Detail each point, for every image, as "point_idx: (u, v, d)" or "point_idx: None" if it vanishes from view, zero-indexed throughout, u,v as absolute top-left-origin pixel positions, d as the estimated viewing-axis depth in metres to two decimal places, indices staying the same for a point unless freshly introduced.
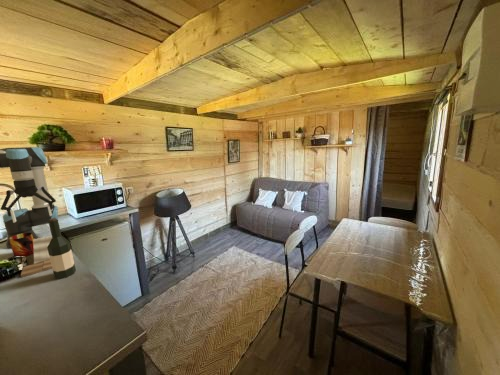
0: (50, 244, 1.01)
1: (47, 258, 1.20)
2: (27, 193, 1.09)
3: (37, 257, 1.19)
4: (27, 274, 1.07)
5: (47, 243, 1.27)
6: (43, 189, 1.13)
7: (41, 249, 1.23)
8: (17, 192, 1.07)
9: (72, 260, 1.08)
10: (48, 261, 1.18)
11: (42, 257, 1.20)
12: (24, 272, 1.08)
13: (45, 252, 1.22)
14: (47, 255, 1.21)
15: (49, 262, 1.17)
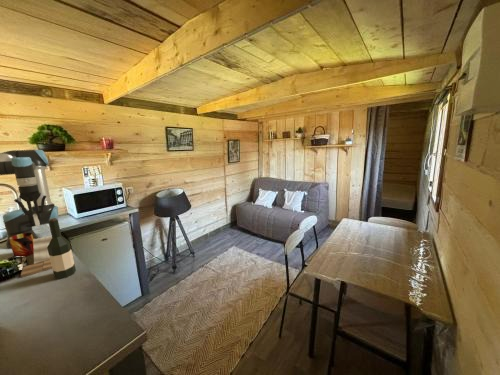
0: (50, 244, 1.01)
1: (47, 258, 1.20)
2: (31, 198, 1.18)
3: (37, 257, 1.19)
4: (27, 274, 1.07)
5: (47, 243, 1.27)
6: (44, 198, 1.21)
7: (41, 249, 1.23)
8: (22, 197, 1.16)
9: (72, 260, 1.08)
10: (48, 261, 1.18)
11: (42, 257, 1.20)
12: (24, 272, 1.08)
13: (45, 252, 1.22)
14: (47, 255, 1.21)
15: (49, 262, 1.17)
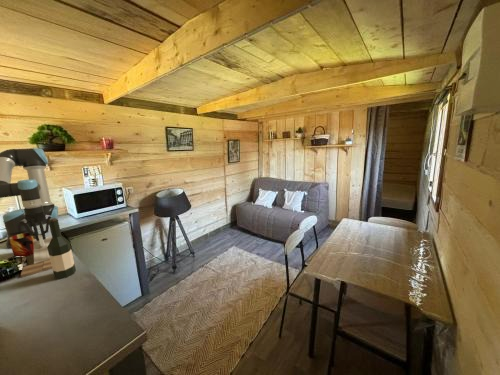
0: (50, 244, 1.01)
1: (47, 258, 1.20)
2: (36, 219, 1.20)
3: (37, 257, 1.19)
4: (27, 274, 1.07)
5: (47, 243, 1.27)
6: (49, 218, 1.24)
7: (41, 249, 1.23)
8: (28, 218, 1.18)
9: (72, 260, 1.08)
10: (48, 261, 1.18)
11: (42, 257, 1.20)
12: (24, 272, 1.08)
13: (45, 252, 1.23)
14: (47, 255, 1.21)
15: (49, 262, 1.17)
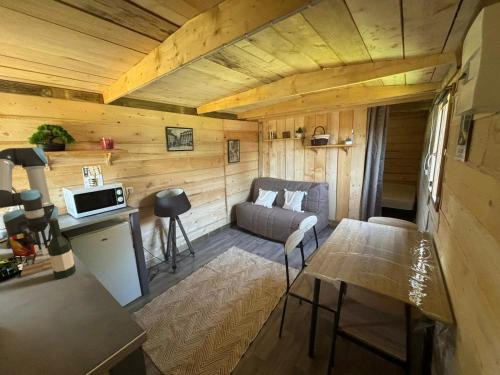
0: (50, 244, 1.01)
1: (47, 258, 1.21)
2: (39, 228, 1.22)
3: (38, 259, 1.20)
4: (27, 274, 1.07)
5: None
6: None
7: None
8: (31, 228, 1.20)
9: (72, 260, 1.08)
10: (48, 261, 1.18)
11: (43, 258, 1.21)
12: (24, 272, 1.08)
13: (47, 255, 1.24)
14: (48, 257, 1.23)
15: (49, 262, 1.17)
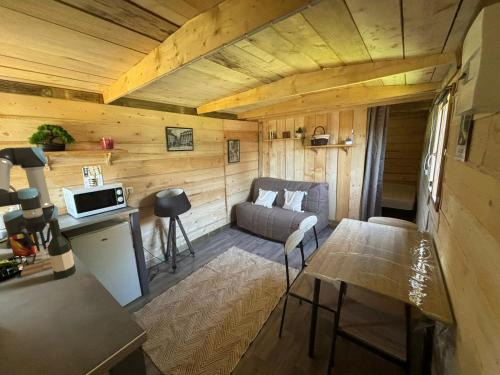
0: (50, 244, 1.01)
1: (47, 258, 1.21)
2: (37, 229, 1.17)
3: (38, 259, 1.20)
4: (27, 274, 1.07)
5: None
6: None
7: None
8: (28, 228, 1.15)
9: (72, 260, 1.08)
10: (48, 261, 1.18)
11: (43, 258, 1.21)
12: (24, 272, 1.08)
13: (47, 255, 1.24)
14: (48, 257, 1.23)
15: (49, 262, 1.17)
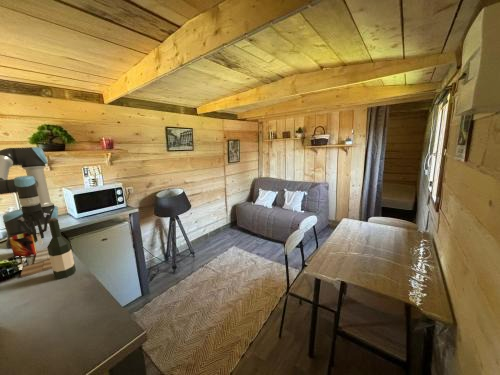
0: (50, 244, 1.01)
1: (47, 258, 1.21)
2: (34, 217, 1.15)
3: (38, 259, 1.20)
4: (27, 274, 1.07)
5: None
6: (47, 217, 1.19)
7: (43, 254, 1.25)
8: (25, 216, 1.13)
9: (72, 260, 1.08)
10: (48, 261, 1.18)
11: (43, 258, 1.21)
12: (24, 272, 1.08)
13: (47, 255, 1.24)
14: (48, 257, 1.23)
15: (49, 262, 1.17)
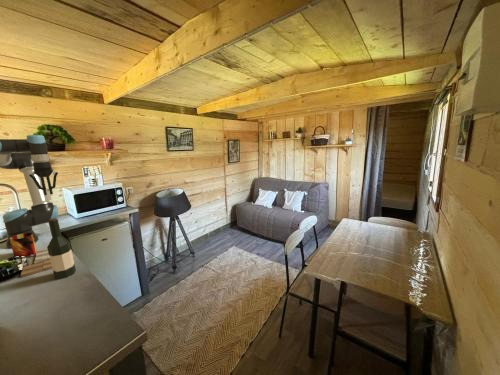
0: (50, 244, 1.01)
1: (47, 258, 1.21)
2: (44, 174, 1.26)
3: (38, 259, 1.20)
4: (27, 274, 1.07)
5: None
6: (56, 174, 1.30)
7: (43, 254, 1.25)
8: (36, 172, 1.24)
9: (72, 260, 1.08)
10: (48, 261, 1.18)
11: (43, 258, 1.21)
12: (24, 272, 1.08)
13: (47, 255, 1.24)
14: (48, 257, 1.23)
15: (49, 262, 1.17)
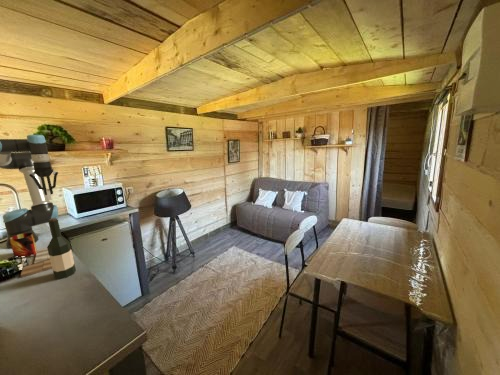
0: (50, 244, 1.01)
1: (47, 258, 1.21)
2: (44, 173, 1.26)
3: (38, 259, 1.20)
4: (27, 274, 1.07)
5: None
6: (56, 174, 1.30)
7: (43, 254, 1.25)
8: (37, 172, 1.24)
9: (72, 260, 1.08)
10: (48, 261, 1.18)
11: (43, 258, 1.21)
12: (24, 272, 1.08)
13: (47, 255, 1.24)
14: (48, 257, 1.23)
15: (49, 262, 1.17)
